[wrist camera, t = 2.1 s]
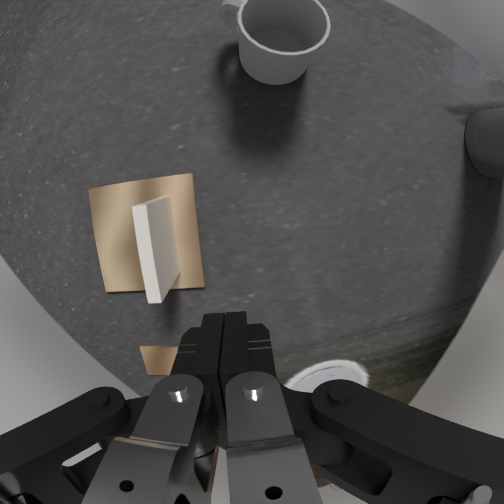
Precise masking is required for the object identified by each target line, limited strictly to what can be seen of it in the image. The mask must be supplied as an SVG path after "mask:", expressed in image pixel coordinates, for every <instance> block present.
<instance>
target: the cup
mask: <svg viewBox="0 0 504 504" xmlns="http://www.w3.org/2000/svg"><path fill="white" fill-rule="evenodd" d="M237 12H238V13H237ZM220 16H221V18H222V21H223V22H224V23H225V25H226V26H227V27H228V28H229V29H230V30H231V31H232V32H233V33H235V34H236V35H237V36H239V58H240V61H241V64H242V67H243V68H244V70H245V71H246V72H247V74H249V75H250V76H251V77H252V78H254V79H255V80H257V81H259V82H262V83H265V84H269V85H283V84H287V83H290V82H292V81H294V80H296V79H298V78H299V77H300V76H301V75H302V74H303V73H304V72H305V71H306V69H307V67H308V66H309V64H310V63H311V61H312V60H313V58H314V57H315V55H316V54H317V52H318V51H319V49H320V48H321V46H322V45H323V43H324V42H325V40H326V39H327V37H328V35H329V31H330V20H329V16H328V14H327V12H326V10H325V8H324V7H323V6H322V5H321V4H320V3H319V1H317V0H224V1H223V2H222V5H221V8H220Z"/></svg>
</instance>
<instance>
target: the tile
mask: <svg viewBox="0 0 504 504" xmlns="http://www.w3.org/2000/svg"><path fill="white" fill-rule="evenodd" d="M132 212H133V219H134V226H135V233H136V240H137V246H138V252H139V258H140V264H141V269H142V275H143V280H144V285H145V290H146V295H147V300H148V303H162V302H163V300H164V298H165V296H166V295H167V293H168V291H169V290H170V288H171V286H172V284H173V283H174V281H175V279H176V278H177V276H178V274H179V273H180V264H179V257H178V250H177V243H176V235H175V227H174V219H173V210H172V201H171V196H163V197H158V198H155V199H152V200H149V201H146V202H143V203H140V204H138V205H135V206H132Z"/></svg>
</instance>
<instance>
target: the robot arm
mask: <svg viewBox="0 0 504 504" xmlns="http://www.w3.org/2000/svg"><path fill="white" fill-rule="evenodd" d="M465 141H466V148H467V152H468V155H469V158H470V160H471V162H472V164H473V166H474V167H475V169H476V170H477V171H478V172H479V173H480V174H481V175H483V176H486V177H493V178H500V179H504V108H500V109H491V110H484V111H477V112H475V113H473V114H472V115H471V116H470V118H469V119H468V121H467V125H466V130H465ZM219 430H228V446H227V450H226V452H227V469H228V482H229V494H230V504H323V503H322V500H321V497H320V494H319V491H318V487H317V484H316V481H315V478H314V475H313V472H312V470H313V471H314V472H316V473H317V474H319V475H320V476H322V477H323V478H325V479H327V480H328V481H330V482H331V483H333V484H335V485H337V486H338V487H340V488H341V489H343V490H345V491H347V492H348V493H350V494H352V495H354V496H356V497H357V498H359V499H361V500H363V501H365V502H367V503H368V504H504V439H503V438H499V437H496V436H493V435H489V434H486V433H483V432H480V431H477V430H474V429H471V428H468V427H465V426H462V425H459V424H457V423H454V422H451V421H448V420H445V419H443V418H440V417H437V416H435V415H432V414H429V413H427V412H424V411H422V410H419V409H417V408H414V407H412V406H409V405H407V404H404V403H402V402H399V401H397V400H395V399H392V398H390V397H387V396H385V395H383V394H380V393H378V392H376V391H374V390H371V389H369V388H367V387H365V386H362V385H360V384H358V383H356V382H353V381H349V380H343V379H337V380H330V381H327V382H324V383H322V384H321V385H319V386H318V387H317V388H316V389H315V390H314V391H313V393H308V392H299V391H294V390H291V389H289V388H287V387H285V386H283V385H282V384H281V383H280V382H279V381H278V379H277V376H276V371H275V365H274V359H273V353H272V347H271V341H270V334H269V330H268V329H267V328H266V327H265V326H264V325H263V324H262V323H260V324H247V315H246V311H241V312H226V315H225V313H210V314H204V316H203V320H202V324H201V327H195V328H190V329H189V330H188V331H187V332H186V333H185V334H183V336H182V339H181V341H180V346H179V348H178V351H177V354H176V357H175V360H174V363H173V366H172V369H171V372H170V375H169V376H168V377H165V378H163V379H162V380H160V381H159V382H157V384H156V385H155V386H154V388H153V390H152V392H151V394H150V395H149V396H146V397H141V398H135V399H129V400H125V398H124V396H123V394H122V393H121V391H119V390H118V389H116V388H113V387H99V388H95V389H92V390H90V391H88V392H86V393H84V394H82V395H81V396H79V397H77V398H75V399H73V400H71V401H69V402H67V403H65V404H63V405H61V406H59V407H57V408H55V409H53V410H52V411H50V412H48V413H46V414H44V415H42V416H39V417H37V418H36V419H33V420H32V421H30V422H27V423H25V424H23V425H21V426H19V427H17V428H15V429H13V430H11V431H8V432H7V433H4V434H2V435H0V504H211V494H212V487H213V481H214V476H215V469H216V462H217V457H218V451H219V447H218V435H219ZM97 442H98V444H99V445H100V447H101V448H102V449H101V450H99V451H97V452H96V453H94V454H92V455H91V456H89V457H87V458H85V459H84V460H82V461H80V462H78V463H77V464H75V465H73V466H69V467H67V466H63V465H62V463H63V462H64V461H66V460H67V459H69V458H71V457H73V456H75V455H76V454H78V453H80V452H82V451H84V450H85V449H87V448H89V447H91V446H92V445H94V444H96V443H97Z"/></svg>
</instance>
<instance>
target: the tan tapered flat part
mask: <svg viewBox="0 0 504 504" xmlns="http://www.w3.org/2000/svg"><path fill="white" fill-rule="evenodd" d="M140 350H141V353H142V357H143V360H144V363H145V366H146V369H147V372H148V375H170V372H171V369H172V366H173V363H174V360H175V357H176V354H177V351H178V346H140Z"/></svg>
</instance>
